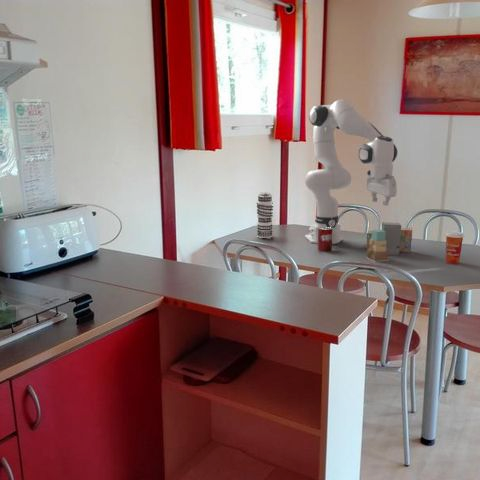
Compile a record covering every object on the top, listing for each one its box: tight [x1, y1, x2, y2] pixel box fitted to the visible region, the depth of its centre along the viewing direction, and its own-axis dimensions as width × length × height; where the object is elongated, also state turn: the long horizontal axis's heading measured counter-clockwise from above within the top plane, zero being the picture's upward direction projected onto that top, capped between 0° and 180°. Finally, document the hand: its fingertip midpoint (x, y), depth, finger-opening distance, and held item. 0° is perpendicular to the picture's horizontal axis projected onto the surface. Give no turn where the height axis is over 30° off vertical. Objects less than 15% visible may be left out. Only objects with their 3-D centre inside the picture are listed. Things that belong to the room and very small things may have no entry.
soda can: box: [317, 227, 333, 253], centre depth 266 cm, size 7×7×12 cm
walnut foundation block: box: [366, 249, 389, 262], centre depth 248 cm, size 7×7×4 cm
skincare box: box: [381, 221, 402, 256], centre depth 258 cm, size 8×7×16 cm
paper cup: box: [445, 230, 465, 265], centre depth 244 cm, size 8×8×14 cm
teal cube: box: [371, 228, 386, 241], centre depth 246 cm, size 4×4×4 cm
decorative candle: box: [256, 191, 274, 239], centre depth 297 cm, size 9×9×25 cm
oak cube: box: [369, 239, 386, 252], centre depth 247 cm, size 6×6×5 cm
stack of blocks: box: [366, 226, 413, 254], centre depth 265 cm, size 21×6×12 cm, turn 70°
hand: (380, 203), depth 243 cm, fingers open, 8 cm apart
